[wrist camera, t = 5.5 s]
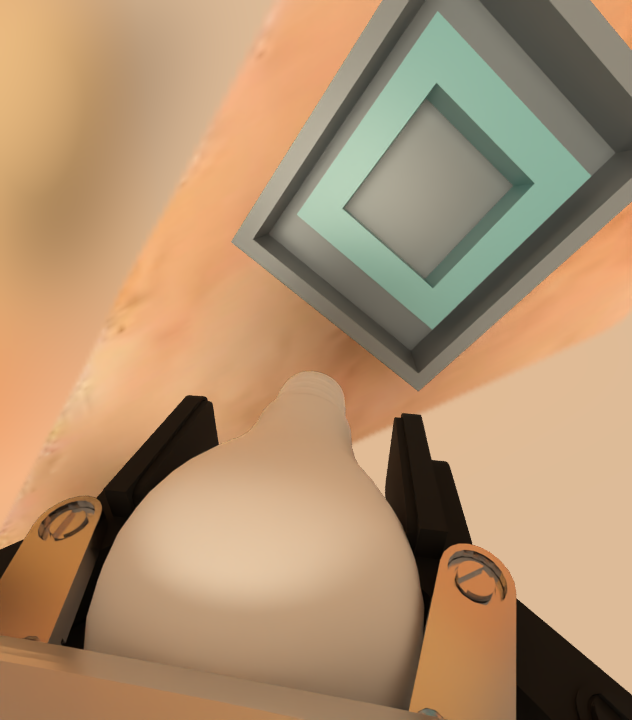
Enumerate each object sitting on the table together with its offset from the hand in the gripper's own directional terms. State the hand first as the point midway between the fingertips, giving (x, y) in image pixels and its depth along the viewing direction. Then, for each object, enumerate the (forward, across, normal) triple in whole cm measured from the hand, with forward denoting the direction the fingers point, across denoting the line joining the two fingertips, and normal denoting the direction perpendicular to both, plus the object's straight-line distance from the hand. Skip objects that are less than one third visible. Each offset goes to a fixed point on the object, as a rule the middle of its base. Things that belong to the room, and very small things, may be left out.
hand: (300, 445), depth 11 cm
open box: (+18, -5, -7) cm, 20 cm away
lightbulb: (+4, 0, 0) cm, 4 cm away
